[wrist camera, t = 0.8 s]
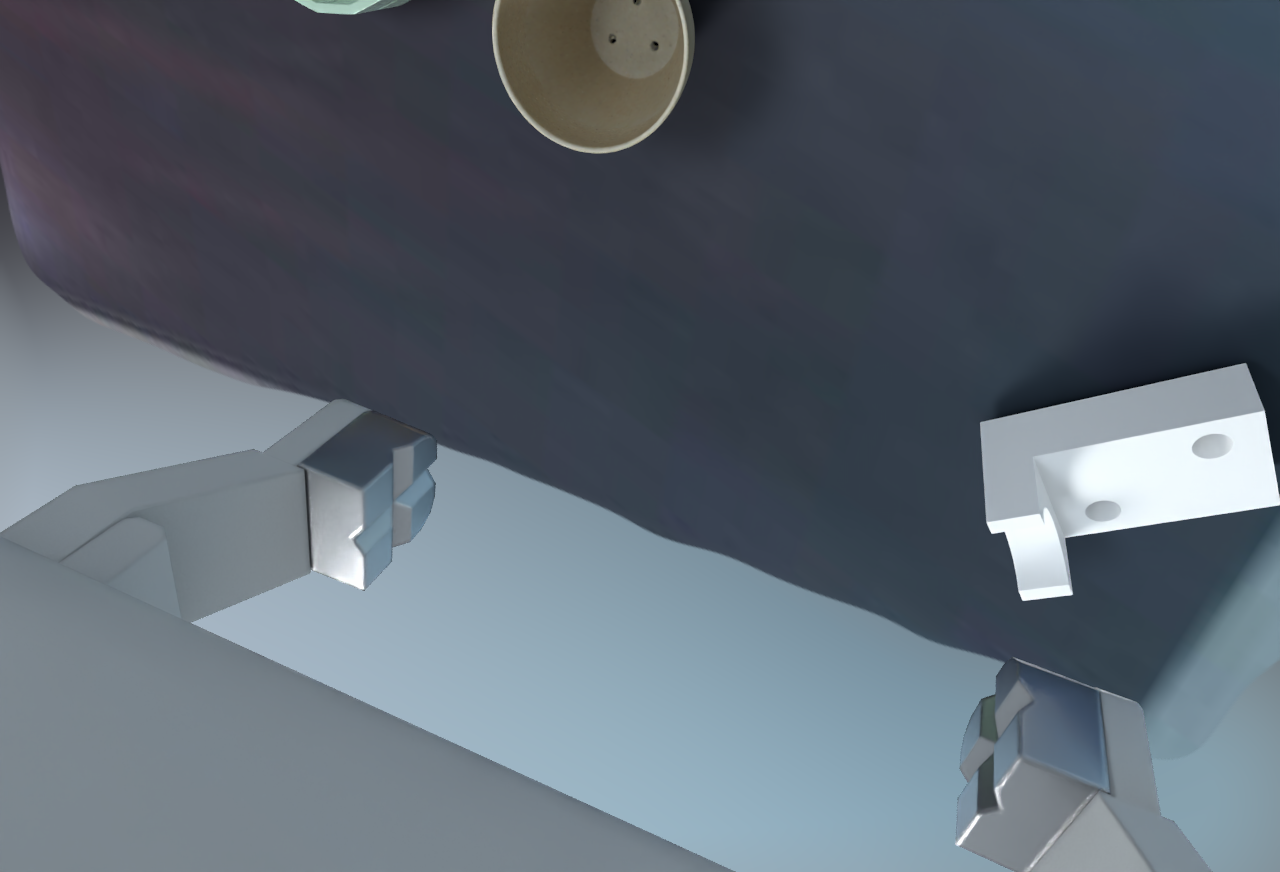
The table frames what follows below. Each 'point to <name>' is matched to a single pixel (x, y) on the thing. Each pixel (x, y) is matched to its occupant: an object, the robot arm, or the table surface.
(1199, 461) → the bracket
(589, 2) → the flower pot
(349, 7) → the bowl
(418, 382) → the table surface
